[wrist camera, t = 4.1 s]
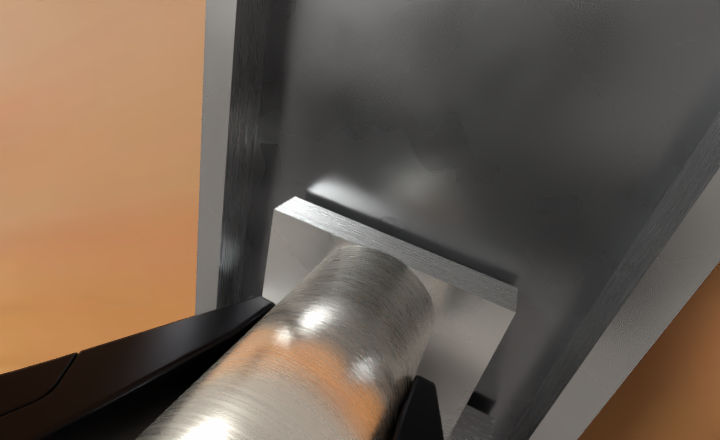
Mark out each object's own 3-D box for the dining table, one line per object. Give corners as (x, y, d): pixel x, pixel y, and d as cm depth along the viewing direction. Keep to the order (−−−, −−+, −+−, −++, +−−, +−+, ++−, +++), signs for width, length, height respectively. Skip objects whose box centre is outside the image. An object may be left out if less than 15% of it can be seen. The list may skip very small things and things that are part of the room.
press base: (428, 595, 18) (388, 785, 13) (217, 458, 21) (126, 574, 16) (842, 24, 7) (1501, -42, 2) (267, -90, 10) (23, -220, 5)
